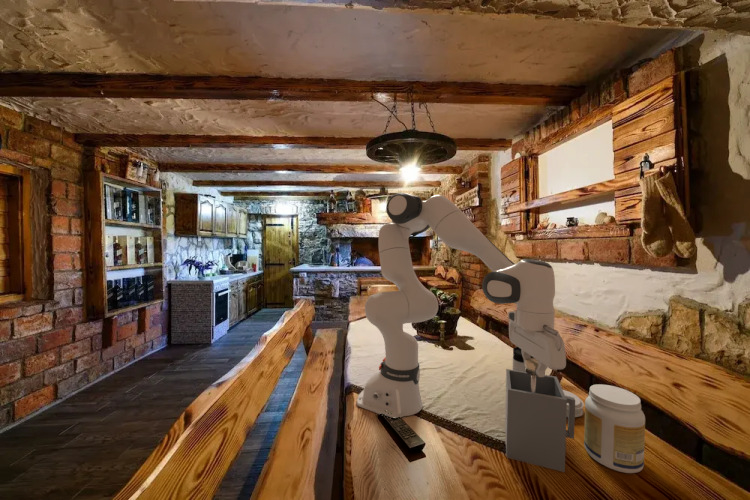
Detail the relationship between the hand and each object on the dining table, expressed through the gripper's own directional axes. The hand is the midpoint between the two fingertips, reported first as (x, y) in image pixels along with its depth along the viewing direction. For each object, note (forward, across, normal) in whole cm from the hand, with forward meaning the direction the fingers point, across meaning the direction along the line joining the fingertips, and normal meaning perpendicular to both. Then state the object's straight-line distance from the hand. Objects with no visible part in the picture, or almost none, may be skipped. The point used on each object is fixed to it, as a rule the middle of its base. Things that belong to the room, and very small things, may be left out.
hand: (533, 371), depth 80 cm
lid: (+22, +18, -20) cm, 35 cm away
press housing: (+21, -1, -1) cm, 21 cm away
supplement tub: (+22, -4, -19) cm, 29 cm away
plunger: (+20, 0, 0) cm, 20 cm away
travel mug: (+21, +18, -8) cm, 29 cm away
